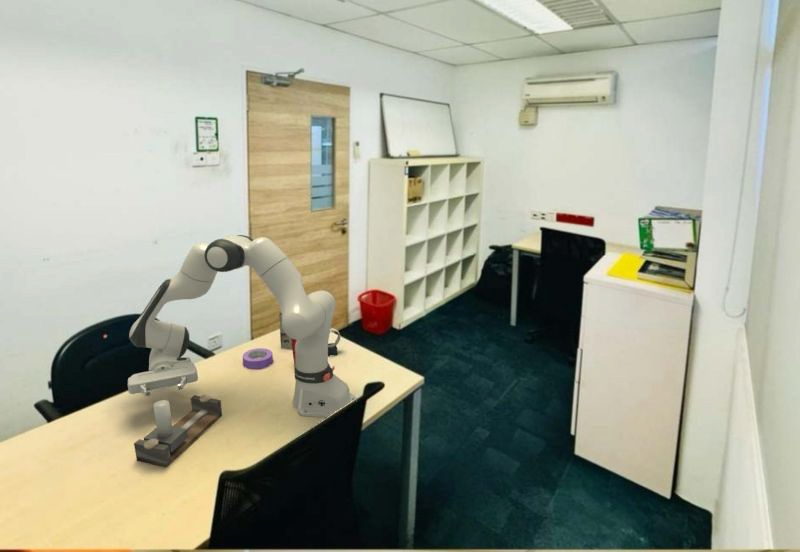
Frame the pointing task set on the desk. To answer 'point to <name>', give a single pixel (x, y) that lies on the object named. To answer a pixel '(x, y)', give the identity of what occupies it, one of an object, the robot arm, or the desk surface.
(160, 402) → the carriage
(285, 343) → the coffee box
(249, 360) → the masking tape
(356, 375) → the desk surface
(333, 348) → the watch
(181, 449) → the rail
